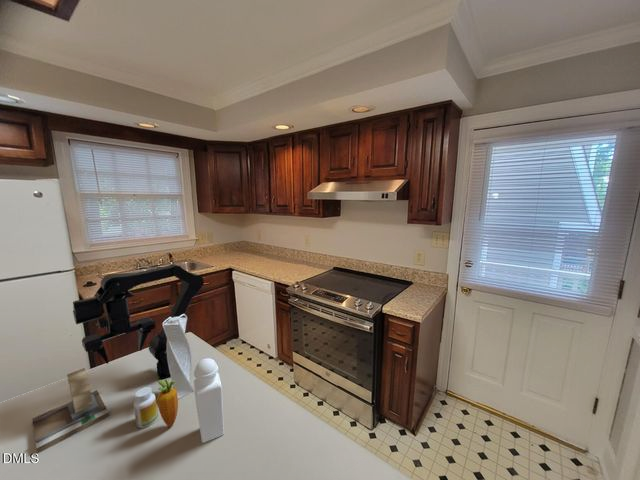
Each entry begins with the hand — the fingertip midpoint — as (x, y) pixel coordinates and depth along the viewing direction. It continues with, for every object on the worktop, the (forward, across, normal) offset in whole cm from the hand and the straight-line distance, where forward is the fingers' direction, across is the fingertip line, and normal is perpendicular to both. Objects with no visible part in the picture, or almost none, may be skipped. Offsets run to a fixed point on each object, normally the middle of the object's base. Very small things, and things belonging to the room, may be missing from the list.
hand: (124, 356), depth 89 cm
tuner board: (+13, +15, 0) cm, 20 cm away
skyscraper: (+13, -12, +15) cm, 23 cm away
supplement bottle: (+13, 0, +19) cm, 23 cm away
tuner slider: (+11, +12, +2) cm, 16 cm away
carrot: (+13, -3, +27) cm, 30 cm away
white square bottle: (+13, -10, +38) cm, 41 cm away
